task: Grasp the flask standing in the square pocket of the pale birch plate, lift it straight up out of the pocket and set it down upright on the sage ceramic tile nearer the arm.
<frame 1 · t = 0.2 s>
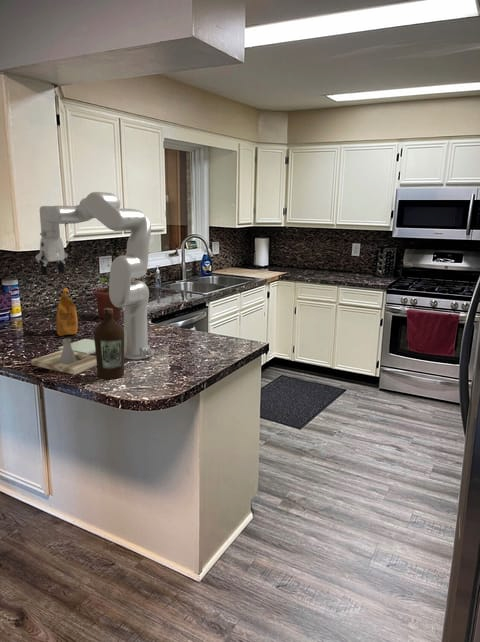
hand: (53, 273, 205), 31 cm above the countertop, tool pointing down, fingers open, 9 cm apart
pocket plate: (68, 363, 181), on the countertop
potted plant: (111, 320, 255), on the countertop
sage tile: (86, 347, 203), on the countertop
olive oil: (110, 375, 170), on the countertop
flask: (68, 364, 181), on the countertop
coffee package: (67, 333, 225), on the countertop
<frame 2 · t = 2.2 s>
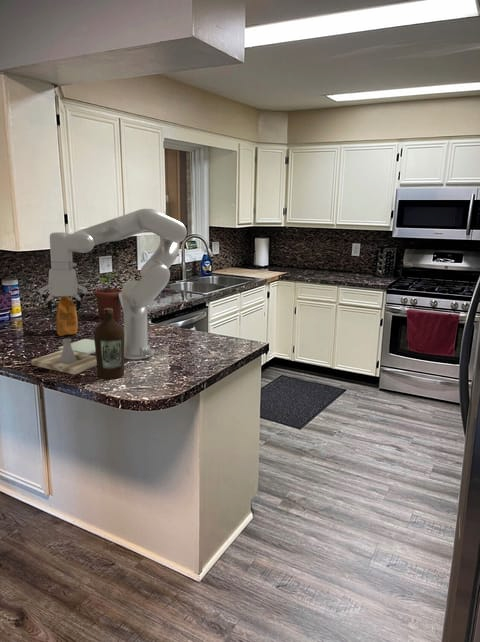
hand: (64, 310, 176), 21 cm above the countertop, tool pointing down, fingers open, 9 cm apart
nothing on the countertop moved.
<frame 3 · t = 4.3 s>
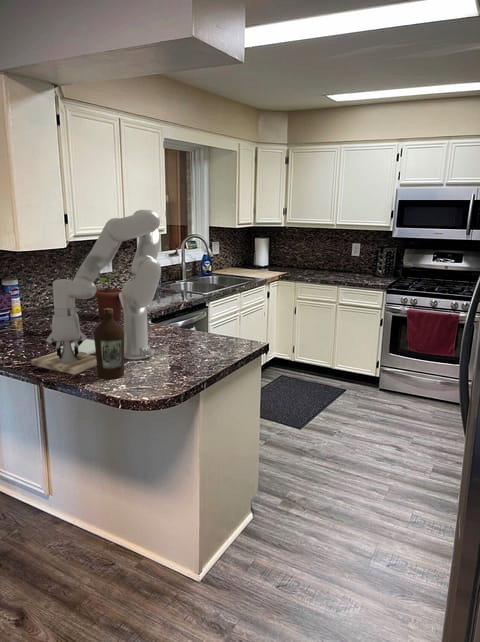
hand: (68, 356, 180), 3 cm above the countertop, tool pointing down, fingers closed on flask, 5 cm apart
flask: (68, 364, 181), on the countertop, touching gripper
everything else where it was.
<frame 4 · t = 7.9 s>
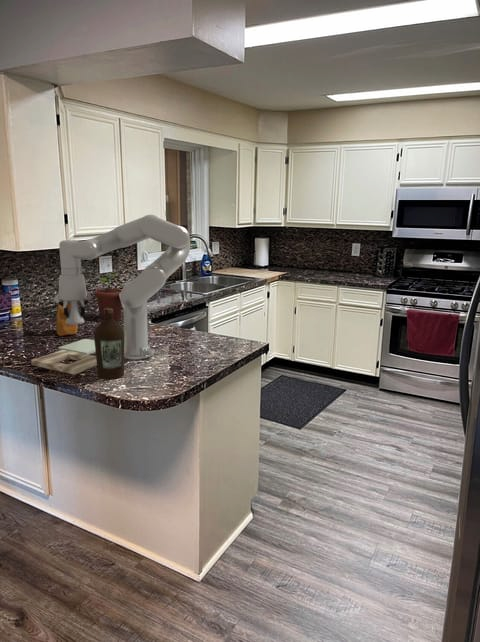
hand: (74, 316, 186), 17 cm above the countertop, tool pointing down, fingers closed on flask, 5 cm apart
flask: (75, 323, 187), point 14 cm above the countertop, touching gripper
everything else where it was.
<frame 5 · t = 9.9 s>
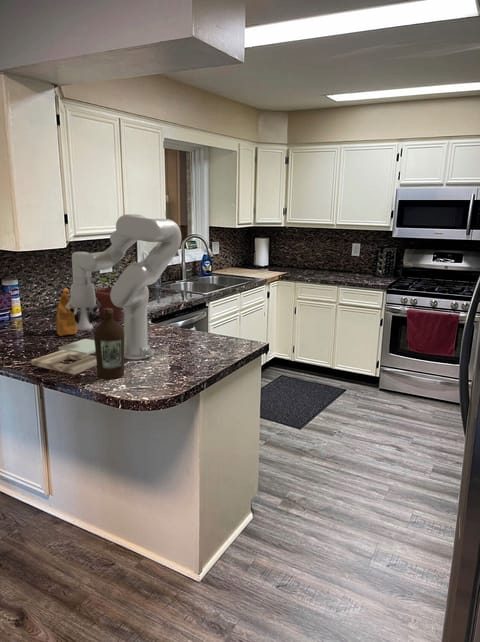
hand: (84, 322, 200), 12 cm above the countertop, tool pointing down, fingers closed on flask, 5 cm apart
flask: (84, 329, 201), point 8 cm above the countertop, touching gripper
everything else where it was.
when the fingers open (5 cm above the countertop, at t = 11.4 s): flask drops 1 cm, resting on sage tile.
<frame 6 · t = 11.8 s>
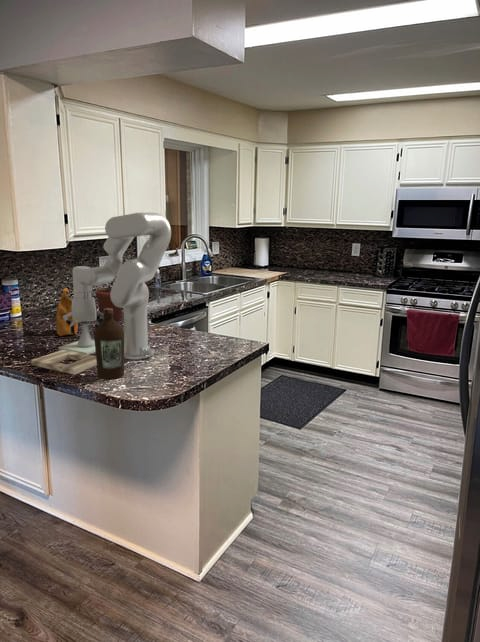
hand: (85, 333, 201), 6 cm above the countertop, tool pointing down, fingers open, 9 cm apart
flask: (86, 345, 202), point 1 cm above the countertop, touching sage tile
everything else where it was.
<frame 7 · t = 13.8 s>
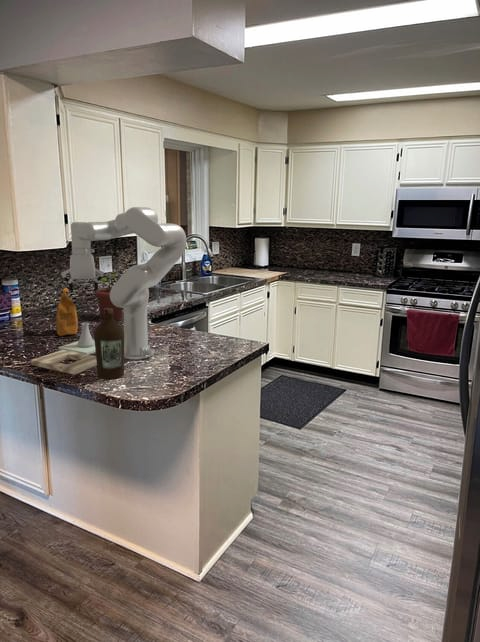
hand: (83, 291, 198), 25 cm above the countertop, tool pointing down, fingers open, 9 cm apart
nothing on the countertop moved.
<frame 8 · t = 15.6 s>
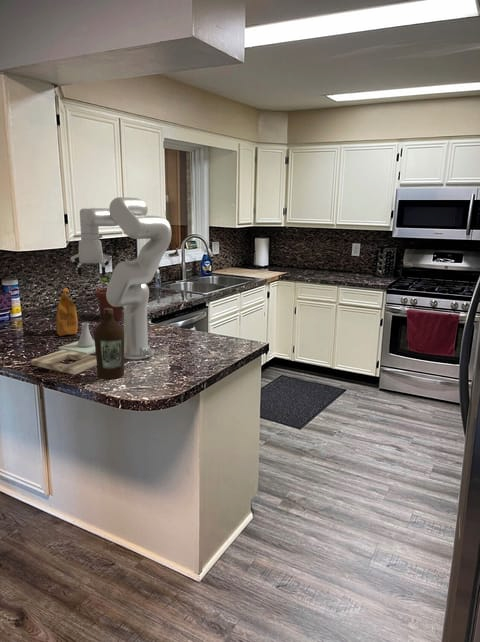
hand: (91, 276, 206), 30 cm above the countertop, tool pointing down, fingers open, 9 cm apart
at the end: flask 0.2 cm off-centre on the sage tile, point 0.8 cm above the sage tile's base; flask tilted 0°; the gripper is holding nothing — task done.
